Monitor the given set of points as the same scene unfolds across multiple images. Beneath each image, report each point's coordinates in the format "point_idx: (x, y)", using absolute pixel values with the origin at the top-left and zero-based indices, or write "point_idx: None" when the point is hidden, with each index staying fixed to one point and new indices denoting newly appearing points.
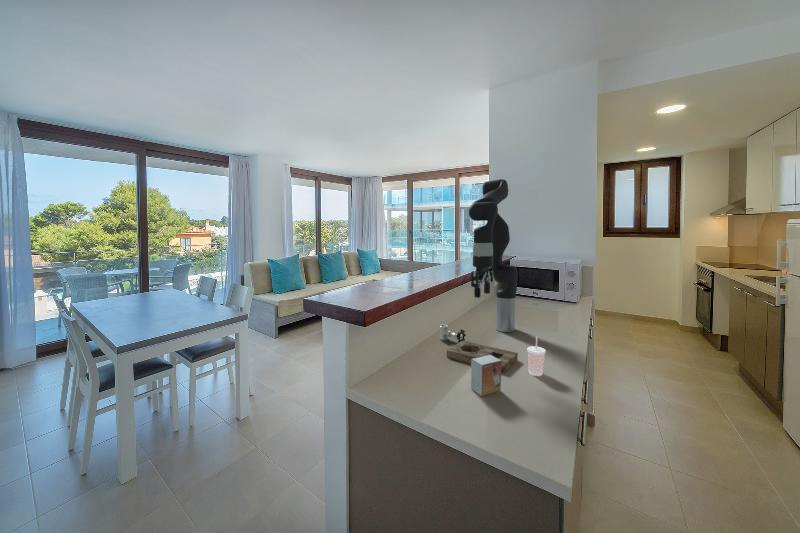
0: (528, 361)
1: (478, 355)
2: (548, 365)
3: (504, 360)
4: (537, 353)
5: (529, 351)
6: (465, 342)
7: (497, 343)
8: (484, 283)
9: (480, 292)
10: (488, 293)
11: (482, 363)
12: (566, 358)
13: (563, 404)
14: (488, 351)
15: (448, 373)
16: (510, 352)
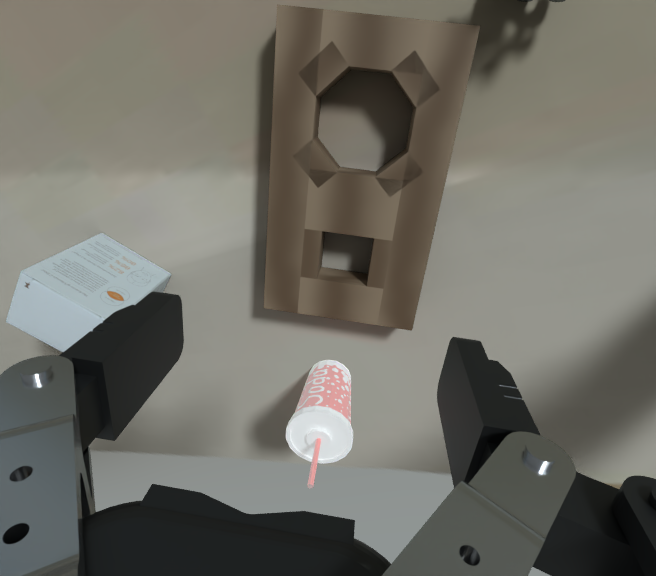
0: (314, 384)
1: (299, 193)
2: (412, 404)
3: (307, 301)
4: (288, 440)
5: (292, 417)
6: (443, 58)
7: (592, 195)
8: (510, 435)
9: (151, 392)
10: (438, 387)
11: (16, 320)
12: None
13: (194, 440)
14: (369, 219)
15: (141, 110)
16: (403, 305)
